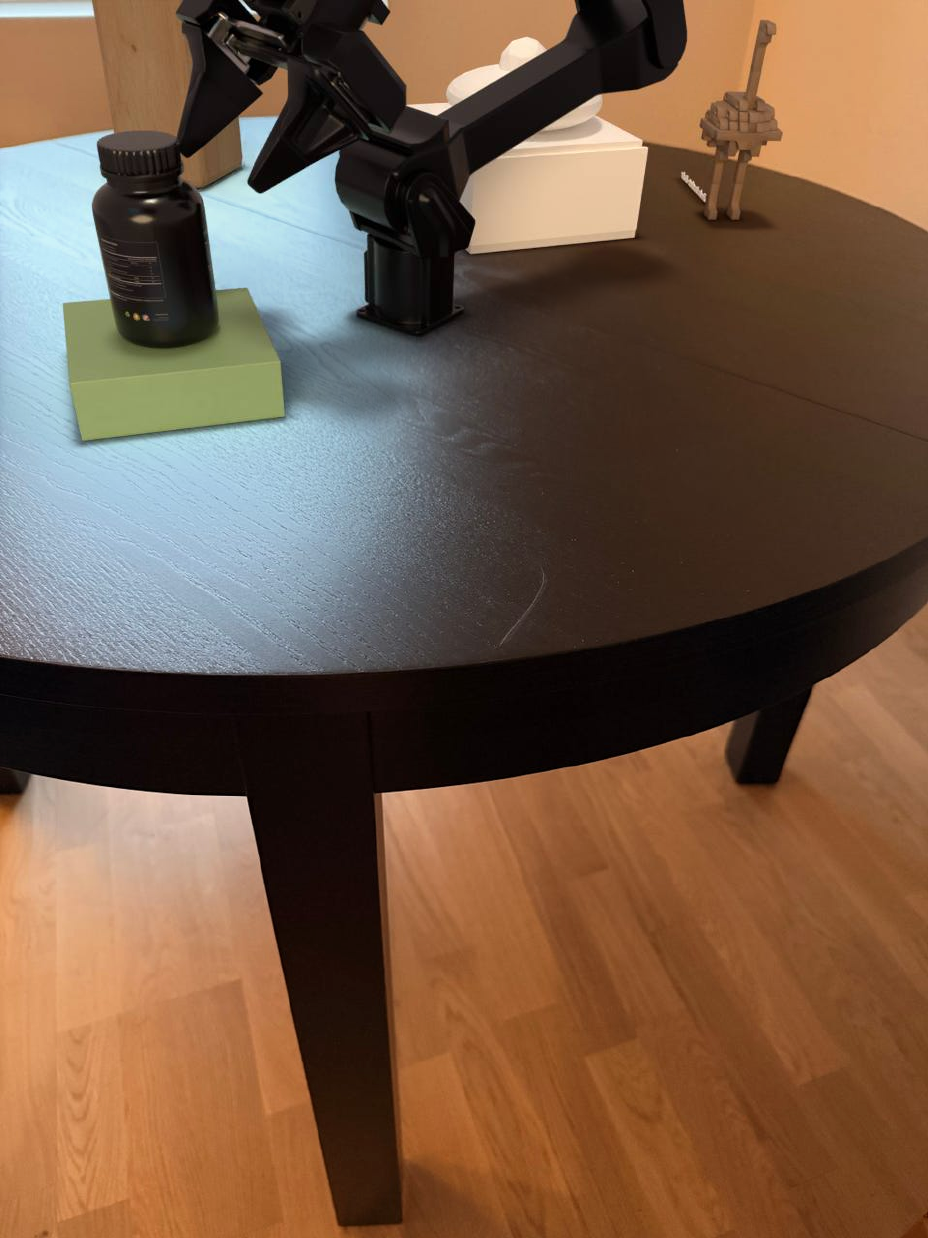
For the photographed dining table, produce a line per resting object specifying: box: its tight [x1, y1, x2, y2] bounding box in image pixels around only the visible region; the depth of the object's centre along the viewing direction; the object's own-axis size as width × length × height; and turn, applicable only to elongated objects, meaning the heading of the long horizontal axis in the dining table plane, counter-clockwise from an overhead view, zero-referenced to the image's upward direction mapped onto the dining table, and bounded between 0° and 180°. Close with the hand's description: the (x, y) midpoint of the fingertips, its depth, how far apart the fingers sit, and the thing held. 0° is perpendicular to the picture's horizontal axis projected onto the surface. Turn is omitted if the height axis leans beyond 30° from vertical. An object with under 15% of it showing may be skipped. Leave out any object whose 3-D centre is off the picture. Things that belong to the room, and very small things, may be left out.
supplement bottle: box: [91, 130, 219, 349], centre depth 64 cm, size 7×7×12 cm
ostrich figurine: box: [680, 19, 784, 221], centre depth 102 cm, size 17×7×18 cm, turn 7°
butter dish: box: [406, 36, 649, 255], centre depth 96 cm, size 18×18×16 cm
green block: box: [62, 287, 286, 442], centre depth 69 cm, size 13×13×4 cm
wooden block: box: [91, 0, 244, 189], centre depth 102 cm, size 10×10×20 cm
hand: (215, 170), depth 64 cm, fingers open, 9 cm apart
